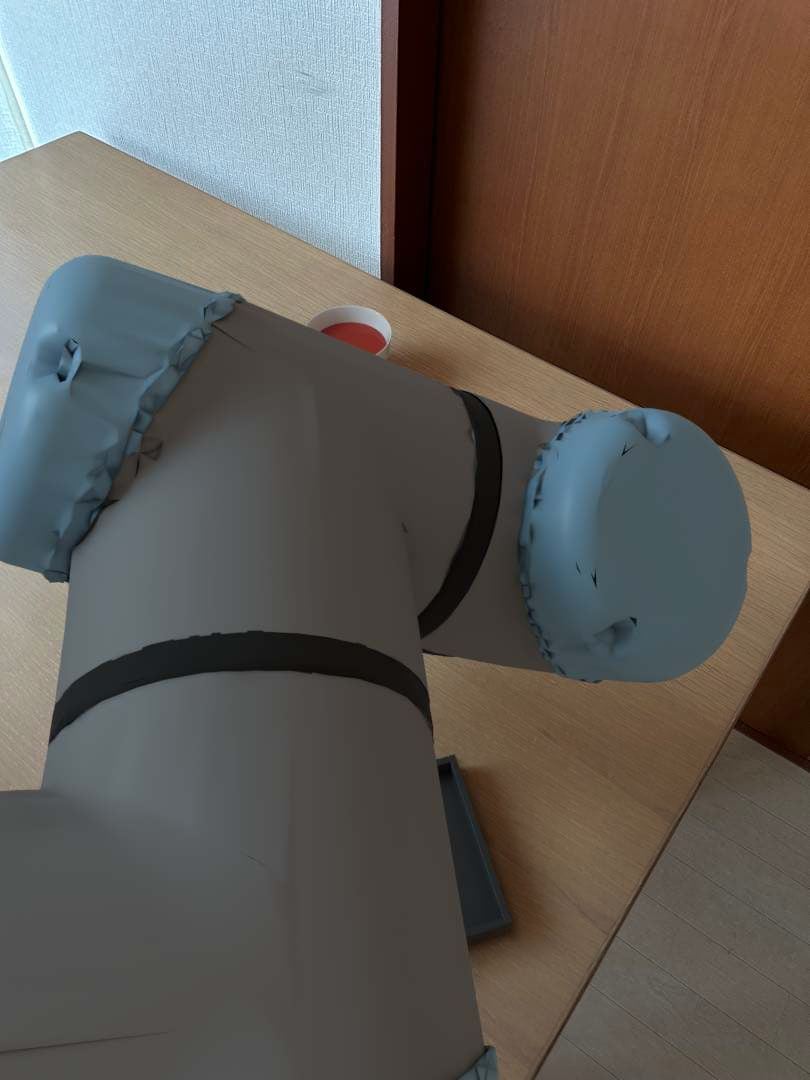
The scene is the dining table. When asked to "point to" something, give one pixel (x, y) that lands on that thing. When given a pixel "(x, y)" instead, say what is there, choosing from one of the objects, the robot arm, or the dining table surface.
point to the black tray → (471, 859)
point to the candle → (355, 328)
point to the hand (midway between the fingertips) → (215, 566)
